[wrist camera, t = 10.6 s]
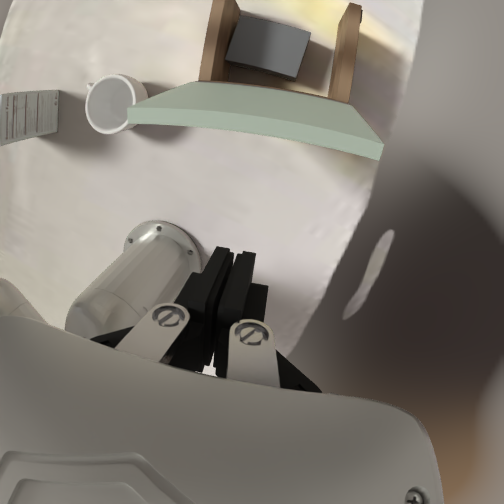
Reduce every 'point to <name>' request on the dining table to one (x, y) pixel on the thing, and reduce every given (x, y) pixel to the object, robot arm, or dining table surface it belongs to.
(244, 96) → the cover
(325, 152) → the dining table surface
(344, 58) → the wooden u-shaped stand
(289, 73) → the slate cuboid
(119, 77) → the teacup
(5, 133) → the supplement box
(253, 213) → the dining table surface
